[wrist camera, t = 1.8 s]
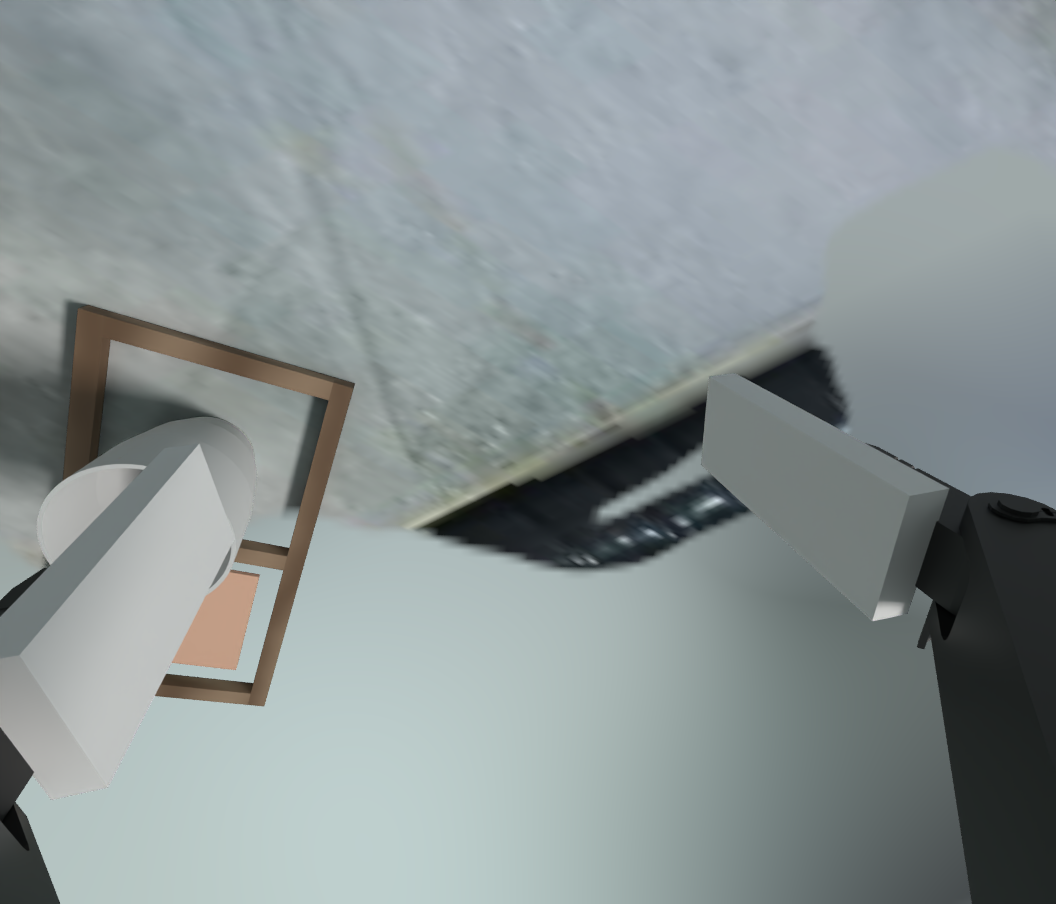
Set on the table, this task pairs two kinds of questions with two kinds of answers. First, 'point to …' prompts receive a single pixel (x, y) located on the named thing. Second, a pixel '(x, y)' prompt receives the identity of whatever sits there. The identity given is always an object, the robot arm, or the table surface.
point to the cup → (123, 463)
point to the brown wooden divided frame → (83, 449)
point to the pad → (220, 624)
